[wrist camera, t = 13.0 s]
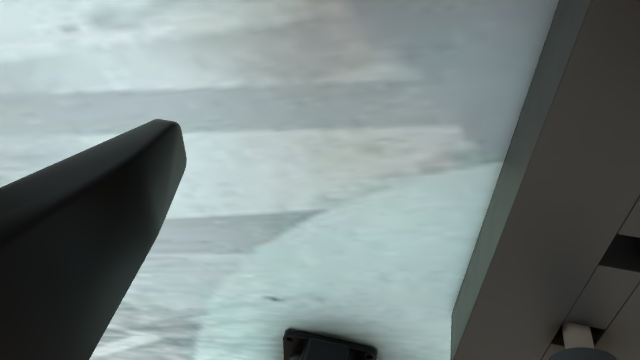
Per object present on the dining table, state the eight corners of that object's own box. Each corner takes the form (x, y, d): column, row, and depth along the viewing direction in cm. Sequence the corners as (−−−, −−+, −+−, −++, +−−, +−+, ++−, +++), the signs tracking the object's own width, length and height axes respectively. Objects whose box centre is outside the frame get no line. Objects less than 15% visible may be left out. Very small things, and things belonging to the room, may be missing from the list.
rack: (945, -50, 14) (1050, -6, 12) (627, 349, 28) (643, 409, 26) (586, -79, 16) (609, -47, 13) (451, 314, 30) (449, 367, 27)
